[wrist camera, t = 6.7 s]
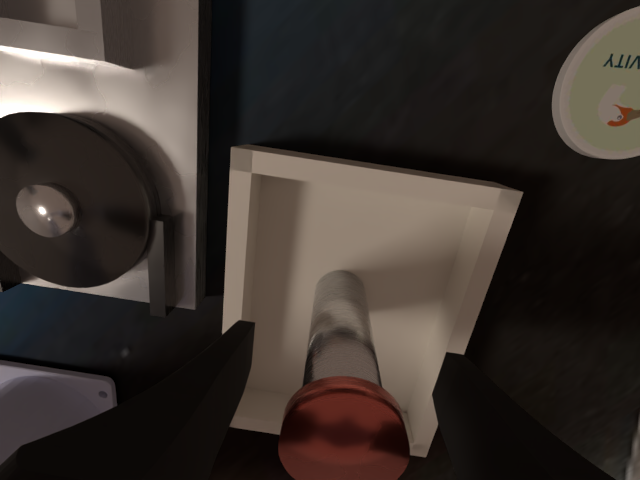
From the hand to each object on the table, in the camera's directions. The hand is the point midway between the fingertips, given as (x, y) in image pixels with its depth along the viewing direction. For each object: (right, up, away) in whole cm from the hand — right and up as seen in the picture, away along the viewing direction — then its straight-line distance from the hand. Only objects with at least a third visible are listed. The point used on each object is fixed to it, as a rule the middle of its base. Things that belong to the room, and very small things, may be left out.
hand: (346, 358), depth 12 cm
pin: (0, +2, +3) cm, 4 cm away
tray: (0, +1, +4) cm, 4 cm away
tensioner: (-11, +10, +2) cm, 15 cm away
